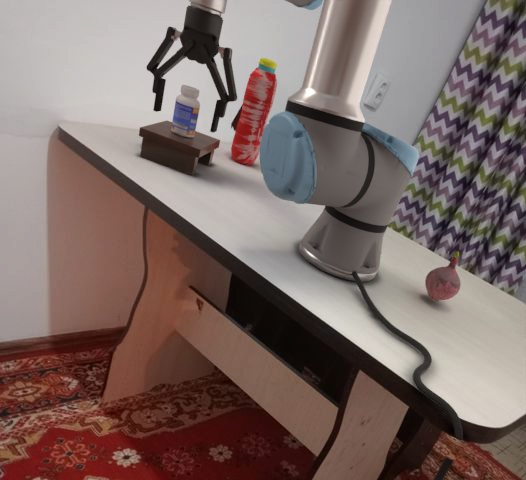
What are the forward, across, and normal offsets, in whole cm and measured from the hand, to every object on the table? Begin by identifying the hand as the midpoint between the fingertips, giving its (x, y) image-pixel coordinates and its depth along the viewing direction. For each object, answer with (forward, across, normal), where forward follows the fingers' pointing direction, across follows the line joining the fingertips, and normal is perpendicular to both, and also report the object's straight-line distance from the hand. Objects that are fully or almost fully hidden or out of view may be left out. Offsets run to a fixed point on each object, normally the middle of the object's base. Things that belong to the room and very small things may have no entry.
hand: (185, 121), depth 104 cm
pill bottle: (+3, 0, 0) cm, 3 cm away
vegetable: (+9, -61, +29) cm, 68 cm away
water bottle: (+9, -10, -22) cm, 26 cm away
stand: (+9, 0, 0) cm, 9 cm away
